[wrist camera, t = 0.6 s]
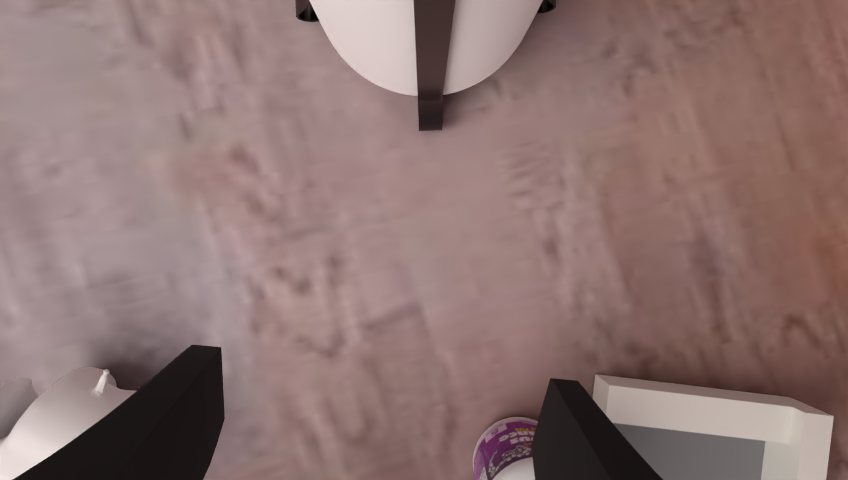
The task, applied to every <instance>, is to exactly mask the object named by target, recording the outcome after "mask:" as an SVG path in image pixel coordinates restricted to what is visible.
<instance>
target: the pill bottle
mask: <svg viewBox="0 0 848 480" xmlns="http://www.w3.org/2000/svg"><path fill="white" fill-rule="evenodd" d="M537 423H538V421H535V420H532V419H529V418H525V417H510V418H506V419H502V420H500V421H498V422H496V423H494V424H493V425H492V426H490V427H489V428H488V429H487V430H486V431H485V432H484V433H483V434H482V436H481V437H480V439H479V440H478V442H477V445H476V447H475V450H474V455H473V470H474V476H475V480H535V474H534V466H533V458H532V449H531V444H532V440H533V437H534V433H535V430H536V427H537Z"/></svg>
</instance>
